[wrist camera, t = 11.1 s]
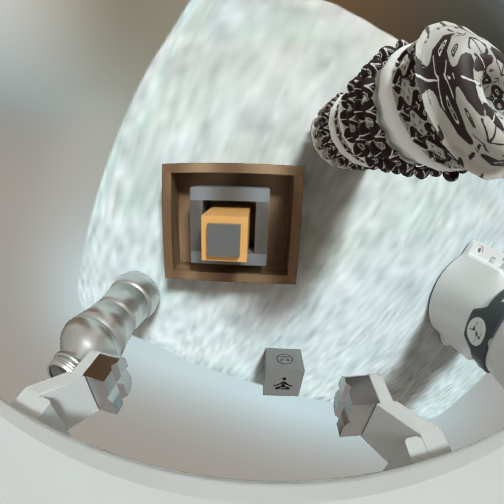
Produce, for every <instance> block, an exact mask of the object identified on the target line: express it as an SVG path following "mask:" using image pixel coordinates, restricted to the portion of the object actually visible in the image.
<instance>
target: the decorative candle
mask: <svg viewBox="0 0 504 504" xmlns="http://www.w3.org/2000/svg"><path fill="white" fill-rule="evenodd" d="M311 137H312V141H313V146H314V148H315V149H316V151H317V152H318V154H319V155H320V157H321V158H322V159H323V160H325V161H326V162H328V163H329V164H330V165H332V166H334V167H338V168H342V169H345V170H354V169H355V170H365V169H371V170H375V169H377V168H378V169H380V170H381V171H383V172H386V173H388V172H390V171H392V172H393V173H394V174H400V173H401V174H402V175H404V176H406V177H411V176H412V175H413V174H414V175H415V176H416V177H417V178H419V179H424V178H426V177H427V176H428V175H429V174H430V175H431V176H434V177H439V176H440V175H441V174H443V177H444V178H445V179H446V180H447V181H450V182H452V181H456V180H457V179H458V176H459V173H461V174H463V173H466V172H467V171H469V172H471V173H473V174H475V175H477V176H479V177H481V178H482V179H484V180H490V179H499V178H504V55H503V54H502V53H501V52H500V51H499V50H498V49H497V48H495V47H494V46H493V45H492V44H490V43H489V42H488V41H487V40H485V39H483V38H481V37H478V36H477V35H475V34H474V33H473V32H471V31H470V30H469V29H467V28H466V27H463V26H460V25H457V24H453V23H449V22H446V21H443V22H439V23H436V24H432V25H429V26H427V27H426V28H425V30H424V31H423V33H422V35H421V36H420V38H419V39H418V40H416V41H415V42H414V43H411V42H409V41H406V40H399V41H398V42H397V43H396V48H394V47H392V46H385V47H382V48H381V49H380V50H379V54H376V55H375V56H374V57H373V60H371V61H370V62H369V63H368V64H366V65H365V66H363V68H362V69H361V72H360V73H359V74H358V76H357V77H355V78H354V79H353V80H351V81H350V82H349V83H348V85H347V89H346V90H345V91H344V93H339V94H337V95H336V97H334V98H333V99H332V100H331V101H329V102H328V103H327V104H326V105H325V106H324V107H323V108H322V109H320V110H319V112H318V114H317V115H316V117H315V118H314V120H313V123H312V129H311ZM416 165H417V166H421V165H425V166H422V167H416ZM442 171H444V172H442Z"/></svg>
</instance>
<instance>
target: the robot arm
mask: <svg viewBox="0 0 504 504" xmlns="http://www.w3.org/2000/svg"><path fill="white" fill-rule="evenodd" d="M429 318H430V322H431V324H432V326H433V327H434V329H435V330H436V331H438V332H439V334H440V339H441V342H442V343H443V344H444V345H445V346H449V345H452V346H453V347H454V348H455V349H456V350H458V351H459V352H460V353H461V354H462V355H463V356H465V357H466V358H467V359H469V360H471V359H474V360H475V361H476V363H477V365H478V366H479V367H480V368H482V369H483V370H484V371H485V372H487V373H491V374H492V375H493V376H494V378H495V379H496V380H497V381H498V382H499V383H500V385H501V386H502V387H503V388H504V253H502V252H500V251H498V250H496V249H494V248H492V247H490V246H488V245H485V244H483V243H481V242H479V241H477V240H472V241H471V242H470V243H469V244H468V245H467V247H466V249H465V250H464V252H463V253H462V254H461V255H460V256H459V257H458V258H457V259H455V260H454V261H453V262H452V263H451V264H450V265H449V266H448V267H447V268H446V269H445V270H444V272H443V273H442V274H441V276H440V278H439V279H438V281H437V283H436V285H435V287H434V290H433V292H432V295H431V299H430V304H429ZM126 367H127V362H126V359H124V358H122V357H119V356H115V355H111V354H107V353H103V352H99V351H95V350H91V351H89V353H88V354H87V355H86V356H85V357H84V358H83V360H82V361H81V362H80V363H79V364H78V365H77V367H76V368H75V369H74V370H73V371H72V372H70V371H68V372H66V373H63V374H60V375H58V376H55V377H53V378H50V379H48V380H45V381H42V382H39V383H37V384H34V385H31V386H29V387H26V388H25V389H24V390H23V391H22V392H21V394H20V395H19V396H18V397H17V398H16V399H15V400H14V401H13V403H12V404H10V403H8V402H6V401H5V400H3V399H2V398H0V504H504V429H502V430H500V431H498V432H496V433H494V434H492V435H490V436H488V437H486V438H484V439H481V440H479V441H477V442H475V443H472V444H470V445H467V446H465V447H462V448H460V449H457V450H455V451H451V449H450V447H449V445H448V443H447V441H446V439H445V437H444V435H443V433H442V431H441V429H440V428H438V427H437V426H435V425H433V424H432V423H430V422H429V421H427V420H425V419H424V418H422V417H421V416H419V415H418V414H416V413H414V412H413V411H411V410H410V409H408V408H407V407H405V406H404V405H402V404H400V403H399V402H397V401H395V402H394V401H393V399H392V397H391V395H390V393H389V391H388V388H387V386H386V384H385V382H384V380H383V378H382V376H381V374H379V373H377V374H367V375H354V376H342V377H341V378H340V381H339V387H340V389H339V390H338V391H337V392H336V394H335V398H334V412H335V415H336V416H337V417H338V418H339V420H338V422H337V427H338V431H339V436H340V437H344V436H357V435H361V436H362V437H363V439H364V440H365V441H366V442H367V443H368V444H370V446H371V447H373V448H374V449H375V450H376V451H377V452H378V453H379V454H380V455H381V456H382V457H383V458H384V459H385V460H386V461H387V462H388V463H389V464H388V465H387V466H386V468H385V469H384V470H383V471H381V472H376V473H370V474H364V475H358V476H351V477H344V478H334V479H324V480H308V481H255V480H240V479H228V478H219V477H211V476H205V475H198V474H192V473H187V472H181V471H176V470H171V469H167V468H162V467H158V466H154V465H150V464H147V463H143V462H139V461H136V460H133V459H129V458H126V457H123V456H120V455H116V454H114V453H111V452H108V451H105V450H102V449H99V448H97V447H94V446H92V445H89V444H87V443H85V442H82V441H80V440H77V439H75V438H73V437H71V435H70V434H69V432H68V431H67V430H68V429H70V428H71V427H73V426H75V425H76V424H78V423H79V422H81V421H83V420H84V419H86V418H87V417H89V416H91V415H92V414H94V413H95V412H97V411H98V410H99V409H100V410H104V411H107V412H111V413H114V414H117V413H118V412H119V410H120V408H121V406H122V404H123V400H122V398H124V397H126V396H127V395H128V394H129V392H130V389H131V376H130V374H129V373H128V371H127V370H126Z"/></svg>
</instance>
